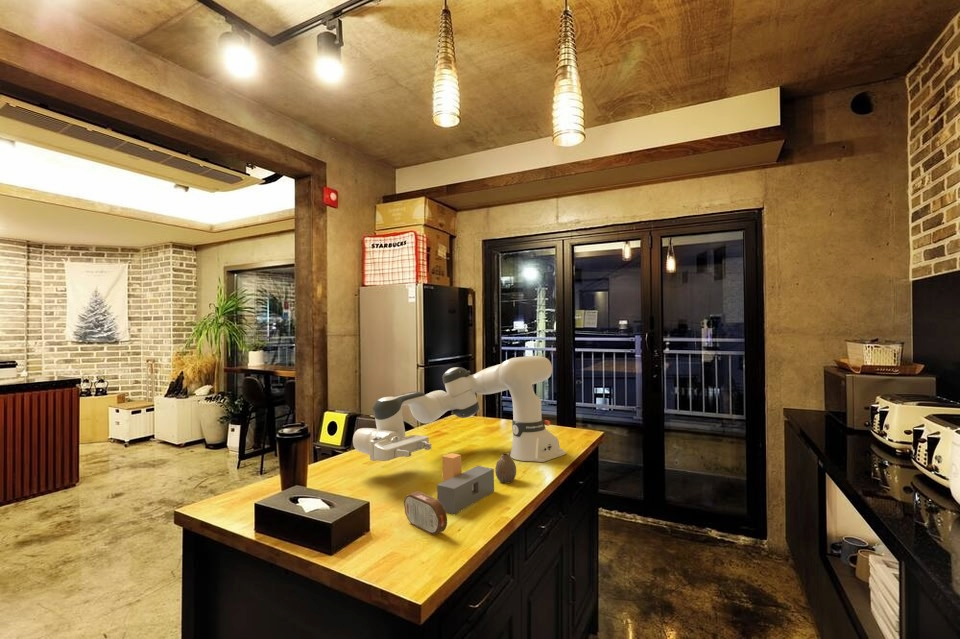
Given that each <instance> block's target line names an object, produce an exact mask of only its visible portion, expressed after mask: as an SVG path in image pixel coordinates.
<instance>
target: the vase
mask: <svg viewBox="0 0 960 639" xmlns="http://www.w3.org/2000/svg"><path fill="white" fill-rule="evenodd" d="M494 473H495V476H496V478H497V480H498V481H499V482H500V483H503V484H510V483H512V482H513V481H514V480H515V478H516V475H517V466H516V462H514V460H513V458H511V457H510V453H502V454H501V456H500V457H499V459H498V461H497V462H496V464H495V467H494Z"/></svg>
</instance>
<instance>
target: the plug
mask: <svg viewBox="0 0 960 639" xmlns="http://www.w3.org/2000/svg"><path fill="white" fill-rule="evenodd" d="M461 473H462V455H461V454H458V453H454V452H451V453H448V454H445V455H442V482H444V481H446V480H448V479H451V478H453V477H455V476H457V475H459V474H461ZM473 490H474V485H473V484H472V491H473Z"/></svg>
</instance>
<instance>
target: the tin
mask: <svg viewBox="0 0 960 639" xmlns="http://www.w3.org/2000/svg"><path fill="white" fill-rule="evenodd" d="M403 500H404V503H403V504H404V514H405V517H406V519H407V520H408V521H409V522H410V524H411V525H412V526H415V527H416V528H418V529H420V530H421V531H424V532H425V533H427V534H430V535H432V536H434V535H439V533H442V532H444V531H445V530H446V529H447V526H448V516H447V512H445V509H444V507H443V505H442V504H441V503H440V502H439V501H438V500H437V498H435V497H433V496H431V495H429V494H425V493H424V492H421V491H419V490H414V491H413V492H411V493H409V494H407V495H405V497H404V499H403Z"/></svg>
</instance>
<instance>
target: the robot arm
mask: <svg viewBox="0 0 960 639" xmlns="http://www.w3.org/2000/svg"><path fill="white" fill-rule="evenodd" d="M552 373H553V365H552V363H551V360H549V359H548V358H547V357H545V356H544V357H543V356H541V355H540V356H539V355H528V356H527V355H526V356H518V357H511V358H509V359H506V360H504V361H502V362H501V363H500V364H496V365H492V366H488V367H487V368H483V369H481V370H479V371H478V372H475V373H474V374H471V371H470V370H467V369H465V368H464V367H460V366H459V367H458V366H457V367H451V368H449V369H447V370H446V371H445V372H444V373H443V375H442V383H443V384H444V387H445V391H444V390H441V389H440V390H439V389H438V390H433V391H430V392H429V393H426V394H425V393H424V392H422V391H411V392H406V393H401V394H397V395H392V396H384V397H381V398H378V399H377V400H376V401H375V402H374V404H373V406H372V409H371V410H372V412H373V416H374V418H375V419H374V420H375V425H376V428H374V427H373V428H372V427H371V428H370V427H362V428H358V429H357V430H355V431H354V434H353V437H352V445H353V447H354V449H355V450H356V451H357V452H359V453H362V454H365V455H368V456H369V461H372V462H375V461H376V462H377V461H378V462H379V461H380V462H389V461H391V460H394V459H397V458H402V457H405V458H410V457H412V453H414V452H418V451H421V450H426V451H429V450H432V448H433V447H432V443H431V442H430V440H429V437H428V436H427V435H419V434H413V435H412V434H411V435H407V436H406V429H405V423H404V418H403V407H404V406H408V407H409V410H410V412H411V415H412V417H413V418H414V419H415V420H416V421H418V422H419V423H422V424H431V423H433V422H435V421H436V420H438V419H440V417H441V416H443V415H445V413H447V412H448V411H451V413H450V414H451V415H453V416H454V415H455V416H456V417H457V418H461V419H469V418H472V417H473V416H475V415H476V414H477V413H478V412H479V410H480V403H479V401H478V398H477V395H492V394H496V393H501V392H504V391H509V394H510V396H511V401H512V415H513V416H512V417H513V419H512V422H511V424H512V425H511V426H512V427H511V428H512V429H511V430H512V444H511V450H510V452H509V455H510V457H511V459H512V460H513V459H514V460H516V461H523V462H538V463H544V462H547V461H550V460H553V459H555V458H560V457H562V456H565V455H567V452H566V450H565V449H563V448H562V447H561V448H560V441H559V439H558V437H557V436H555V435H554V433H552V432H550V431H549V430H548V429H546V426H548V427H549V426H550V420H547V419H545V420H544V419H542V400H541V398H540V397H539V396H538V395H536V393H535V391H534V386H533V385H536V384H539V383H542V382H544V381H546V380H548V379H549V378H550V377H551V376H552ZM476 394H477V395H476Z"/></svg>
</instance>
